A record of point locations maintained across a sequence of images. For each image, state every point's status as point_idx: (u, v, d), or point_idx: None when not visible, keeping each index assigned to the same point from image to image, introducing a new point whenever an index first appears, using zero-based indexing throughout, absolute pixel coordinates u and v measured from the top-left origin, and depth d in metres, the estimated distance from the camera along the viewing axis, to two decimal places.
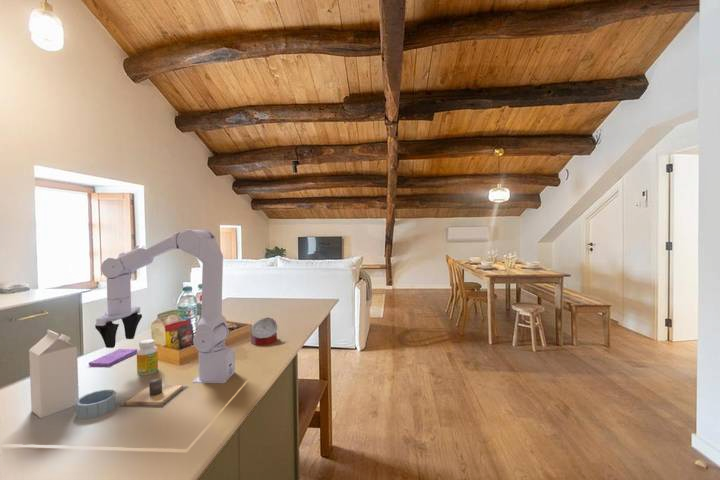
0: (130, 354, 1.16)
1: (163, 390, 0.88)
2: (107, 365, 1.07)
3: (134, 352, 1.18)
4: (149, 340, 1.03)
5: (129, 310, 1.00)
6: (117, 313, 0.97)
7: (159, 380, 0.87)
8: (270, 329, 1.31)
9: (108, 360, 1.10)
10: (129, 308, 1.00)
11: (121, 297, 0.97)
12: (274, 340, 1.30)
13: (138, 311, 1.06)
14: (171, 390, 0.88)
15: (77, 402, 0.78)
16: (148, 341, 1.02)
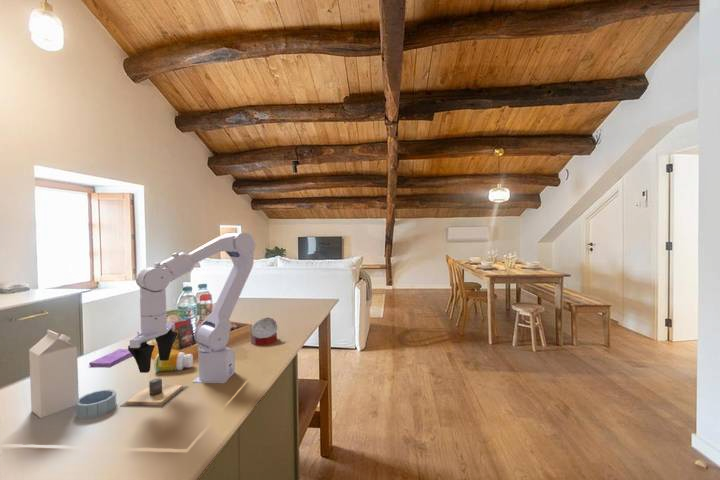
0: (130, 354, 1.17)
1: (163, 390, 0.88)
2: (108, 365, 1.07)
3: None
4: (191, 361, 1.06)
5: (165, 328, 0.87)
6: (152, 332, 0.84)
7: (159, 380, 0.87)
8: (270, 329, 1.31)
9: (109, 360, 1.10)
10: (165, 326, 0.87)
11: (165, 311, 0.87)
12: (274, 340, 1.30)
13: (173, 328, 0.93)
14: (171, 390, 0.88)
15: (77, 402, 0.78)
16: (190, 363, 1.04)
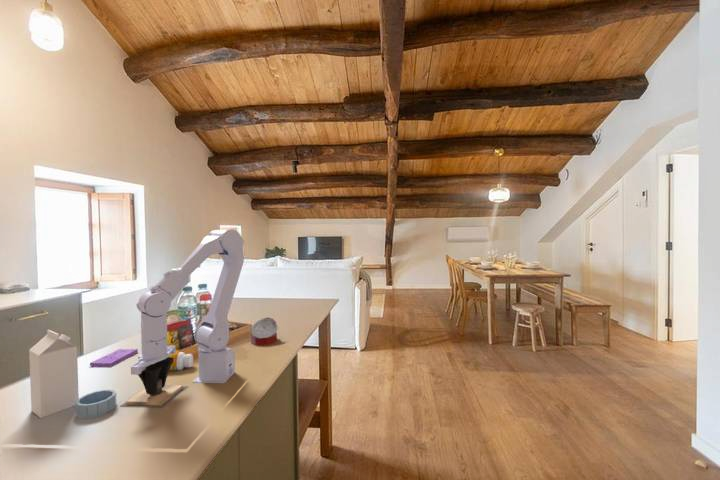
0: (131, 354, 1.17)
1: (163, 390, 0.88)
2: (109, 365, 1.08)
3: (135, 352, 1.18)
4: (191, 361, 1.06)
5: (166, 353, 0.87)
6: (153, 357, 0.84)
7: (159, 380, 0.87)
8: (270, 329, 1.31)
9: (109, 360, 1.10)
10: (166, 350, 0.87)
11: (166, 336, 0.87)
12: (274, 340, 1.30)
13: (173, 351, 0.93)
14: (171, 390, 0.88)
15: (77, 402, 0.78)
16: (190, 363, 1.04)
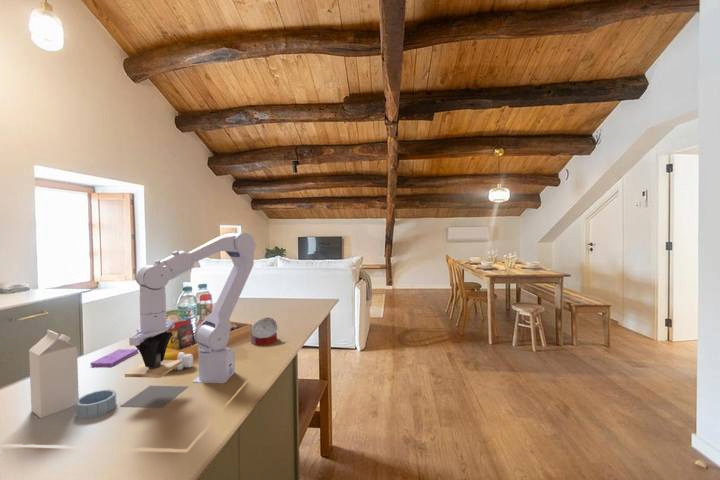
0: (131, 354, 1.17)
1: (162, 364, 0.88)
2: (110, 365, 1.08)
3: (135, 352, 1.18)
4: (191, 361, 1.06)
5: (164, 326, 0.87)
6: (152, 330, 0.84)
7: (158, 354, 0.87)
8: (270, 329, 1.31)
9: (110, 360, 1.10)
10: (164, 324, 0.87)
11: (165, 309, 0.87)
12: (274, 340, 1.30)
13: (172, 326, 0.93)
14: (170, 364, 0.88)
15: (77, 402, 0.78)
16: (190, 363, 1.04)
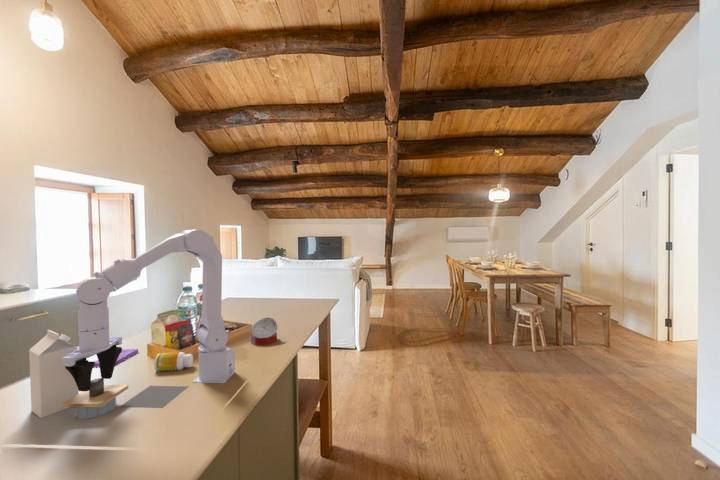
0: (132, 354, 1.17)
1: (105, 391, 0.82)
2: None
3: (135, 352, 1.18)
4: (191, 361, 1.06)
5: (106, 343, 0.80)
6: (91, 348, 0.78)
7: (100, 380, 0.81)
8: (270, 329, 1.31)
9: None
10: (106, 341, 0.80)
11: (106, 326, 0.80)
12: (274, 340, 1.30)
13: (119, 342, 0.87)
14: (114, 390, 0.82)
15: None
16: (190, 363, 1.04)
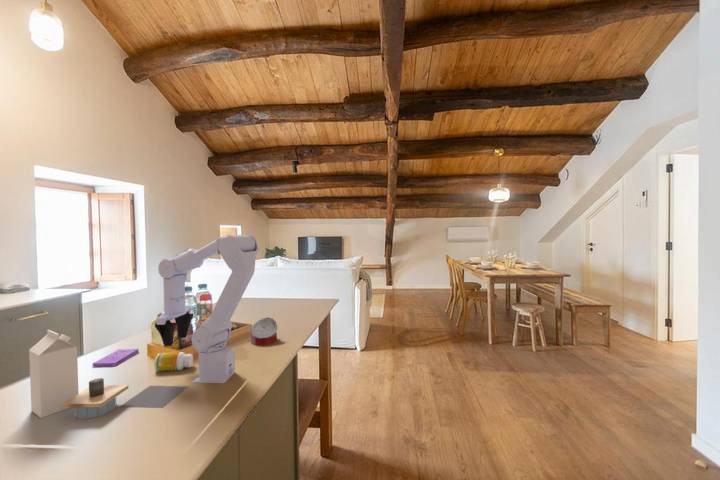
0: (132, 354, 1.17)
1: (105, 391, 0.82)
2: (113, 365, 1.08)
3: (136, 352, 1.19)
4: (191, 361, 1.06)
5: (184, 309, 1.03)
6: (174, 312, 1.00)
7: (100, 380, 0.81)
8: (269, 329, 1.31)
9: (112, 360, 1.10)
10: (184, 307, 1.03)
11: (174, 297, 1.00)
12: (274, 340, 1.30)
13: (189, 310, 1.09)
14: (114, 390, 0.82)
15: None
16: (190, 363, 1.04)
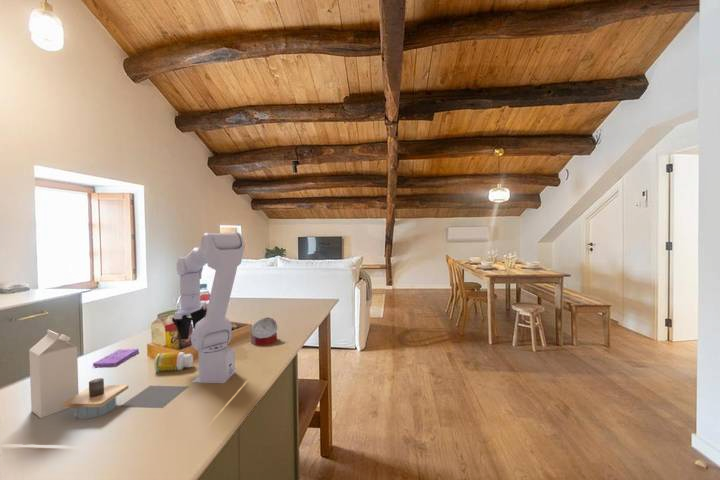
0: (133, 354, 1.17)
1: (105, 391, 0.82)
2: (113, 365, 1.08)
3: (136, 352, 1.19)
4: (191, 361, 1.06)
5: (199, 305, 1.09)
6: (190, 308, 1.06)
7: (100, 380, 0.81)
8: (269, 329, 1.31)
9: (113, 360, 1.10)
10: (199, 303, 1.09)
11: (186, 294, 1.06)
12: (274, 340, 1.30)
13: (203, 306, 1.15)
14: (114, 390, 0.82)
15: None
16: (190, 363, 1.04)
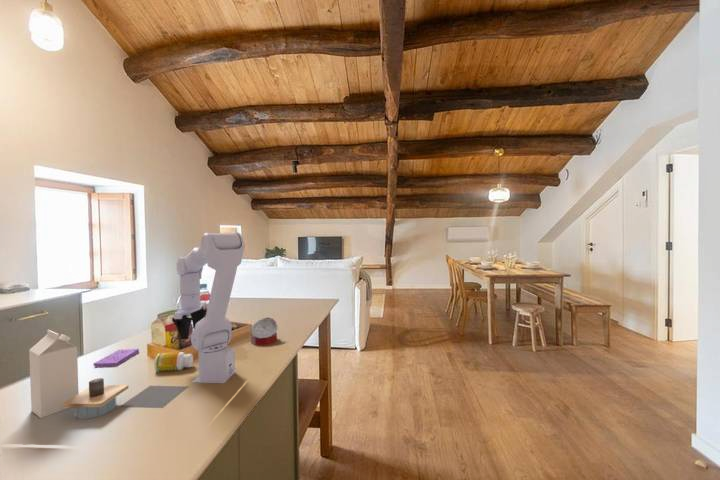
0: (133, 354, 1.17)
1: (105, 391, 0.82)
2: (114, 364, 1.08)
3: (136, 352, 1.19)
4: (191, 361, 1.06)
5: (199, 305, 1.09)
6: (190, 308, 1.06)
7: (100, 380, 0.81)
8: (270, 329, 1.31)
9: (113, 359, 1.10)
10: (199, 303, 1.09)
11: (186, 294, 1.06)
12: (274, 340, 1.30)
13: (203, 306, 1.15)
14: (114, 390, 0.82)
15: None
16: (190, 363, 1.04)
